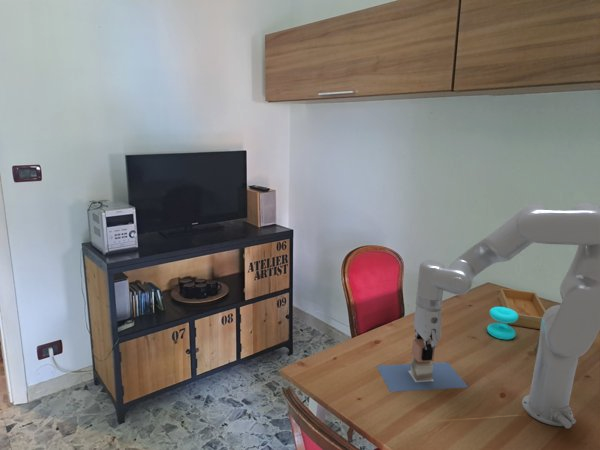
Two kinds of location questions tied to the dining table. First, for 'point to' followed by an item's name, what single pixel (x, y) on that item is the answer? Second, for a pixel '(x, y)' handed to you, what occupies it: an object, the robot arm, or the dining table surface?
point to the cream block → (421, 370)
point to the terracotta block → (420, 350)
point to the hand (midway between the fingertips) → (422, 354)
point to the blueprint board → (405, 381)
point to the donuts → (499, 328)
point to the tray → (523, 307)
